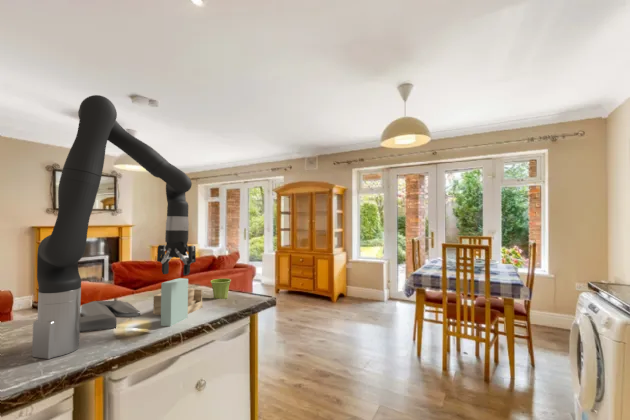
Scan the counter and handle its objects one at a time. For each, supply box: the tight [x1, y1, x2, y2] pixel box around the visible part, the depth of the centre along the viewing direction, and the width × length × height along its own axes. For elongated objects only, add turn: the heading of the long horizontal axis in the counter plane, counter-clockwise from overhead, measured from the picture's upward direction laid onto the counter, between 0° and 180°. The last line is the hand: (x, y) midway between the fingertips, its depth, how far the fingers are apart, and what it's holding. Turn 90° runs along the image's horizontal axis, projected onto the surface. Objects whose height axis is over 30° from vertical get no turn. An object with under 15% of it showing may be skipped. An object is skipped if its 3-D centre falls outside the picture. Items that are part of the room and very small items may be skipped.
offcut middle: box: [188, 295, 194, 303], centre depth 118 cm, size 8×4×2 cm, turn 170°
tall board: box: [160, 277, 189, 327], centre depth 106 cm, size 9×4×15 cm, turn 167°
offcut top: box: [188, 287, 195, 297], centre depth 120 cm, size 6×4×2 cm, turn 163°
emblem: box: [80, 300, 141, 333], centre depth 111 cm, size 28×5×28 cm
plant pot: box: [210, 278, 232, 300], centre depth 141 cm, size 9×9×9 cm
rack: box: [152, 288, 203, 316], centre depth 119 cm, size 13×13×8 cm
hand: (175, 274), depth 106 cm, fingers open, 8 cm apart
